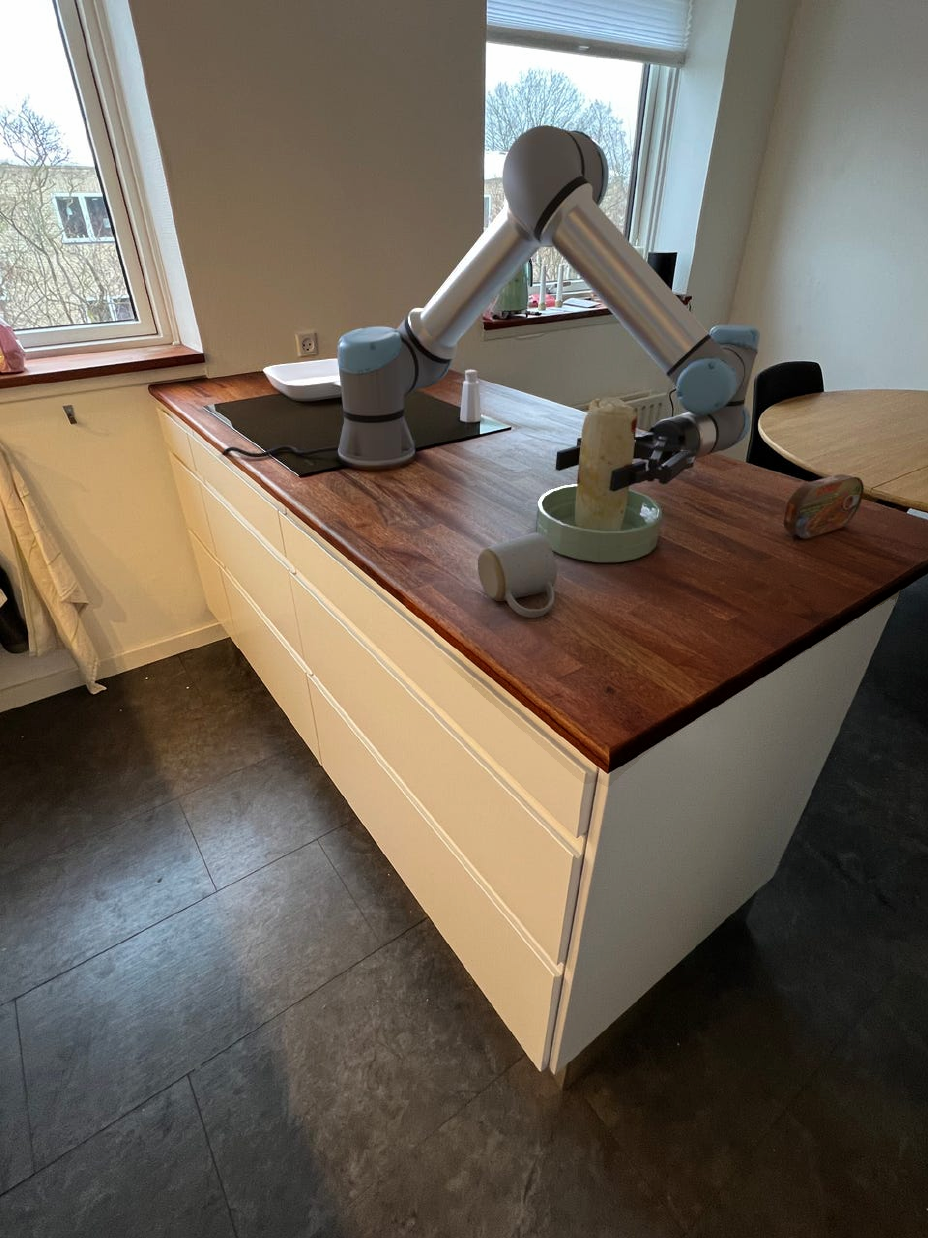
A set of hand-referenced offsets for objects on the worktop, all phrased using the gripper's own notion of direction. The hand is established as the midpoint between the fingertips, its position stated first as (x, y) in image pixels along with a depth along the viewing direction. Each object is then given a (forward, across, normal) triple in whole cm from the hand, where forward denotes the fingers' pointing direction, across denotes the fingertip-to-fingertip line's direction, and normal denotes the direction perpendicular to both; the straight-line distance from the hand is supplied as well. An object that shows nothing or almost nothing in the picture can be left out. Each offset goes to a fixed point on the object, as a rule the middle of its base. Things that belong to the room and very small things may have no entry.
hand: (584, 470), depth 89 cm
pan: (-16, +102, -12) cm, 104 cm away
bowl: (-4, 0, -12) cm, 12 cm away
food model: (-4, 0, -11) cm, 12 cm away
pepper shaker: (-30, +61, -12) cm, 69 cm away
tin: (-33, -20, -12) cm, 41 cm away
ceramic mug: (+17, -6, -12) cm, 21 cm away
